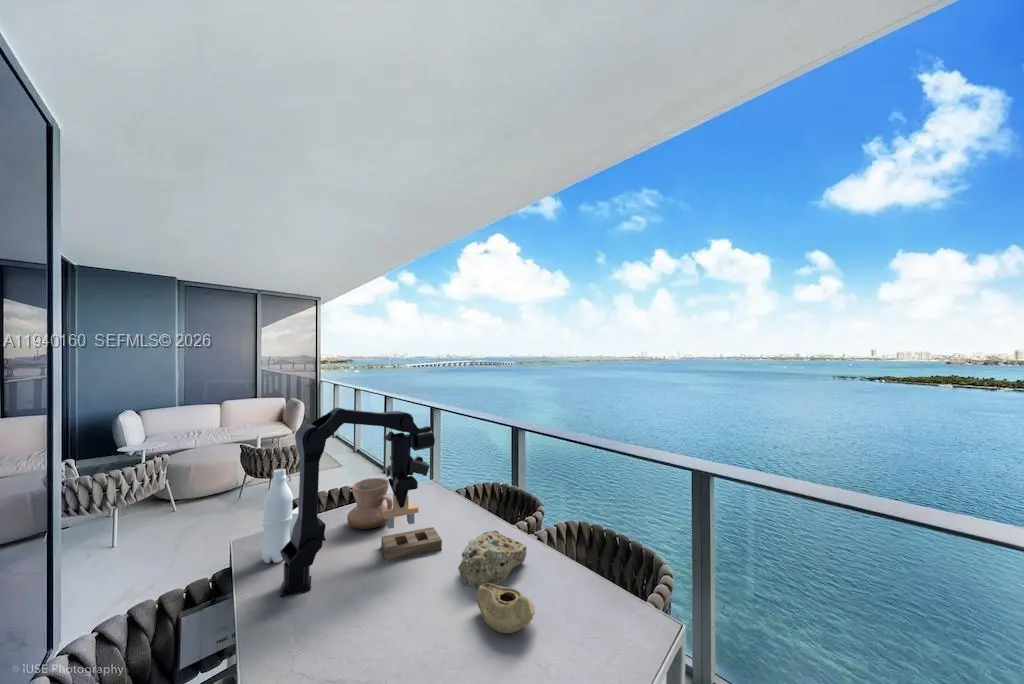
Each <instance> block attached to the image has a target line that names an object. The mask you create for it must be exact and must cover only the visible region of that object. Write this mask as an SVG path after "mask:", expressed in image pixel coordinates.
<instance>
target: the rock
mask: <svg viewBox="0 0 1024 684" xmlns="http://www.w3.org/2000/svg"><path fill="white" fill-rule="evenodd" d="M527 552H528V551H527V545H525V544H522V543H521V542H520V541H517V540H514V539H512V538H511V537H508V536H506V535H504V534H501V533H500V532H499V531H498V530H488V531H486V532H483V533H481V534H479V535H478V536H477V537H476V538H475V539H474V538H472V539H470V540H469V541H468V545H467V546H465V547H464V550H463V551H462V553H461V557H462V559H461V562H460V564H459V565H458V567H457V569H458V572H459V574H460V577H461V578H462V582H463V584H464V586H465V587H473V588H475V589H476V588H477V589H479V587H480V586H481V585H483V584H488V583H491V584H495V585H499V584H500V583H501V582H503V581H505V579H506V578H507V577H508V576H509V575H510V572H511V571H512V570H513V569H516V567H518V566H519V565H521V564H522V563H524V562H525V560H526V557H527Z"/></svg>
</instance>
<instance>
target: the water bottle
mask: <svg viewBox="0 0 1024 684" xmlns="http://www.w3.org/2000/svg"><path fill="white" fill-rule="evenodd" d="M286 472H287V471H286V468H276V469H274V470H273V476H272V478H271V479H272V484H271V485H270V487H269V489H268V491H267V493H266V494H265V497H264V499H263V519H262V527H263V531H264V532H263V535H264V537H263V544H262V546H261V558H262V560H263V562H264V563H265V564H270V563H271V562H273V563H274V564H278V563H281V562H282V561H283V560H284V559H283V558H282V555H281V553H280V551H281V550H282V549H283V548H284V547H285V546H286V544H287V543H288V542H289V541H290V525H291V521H292V510H293V498H294V497H293V492H292V490H291V488H290V486H289V484H288V483H287V480H286V479H287V474H286Z"/></svg>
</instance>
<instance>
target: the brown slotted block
mask: <svg viewBox="0 0 1024 684" xmlns="http://www.w3.org/2000/svg"><path fill="white" fill-rule="evenodd" d="M442 542H443V540H442V538H441V536H440V535H439V534H438V532H437V530H436V529H435V527H434V526H430V527H426V528H425V527H424V528H420V529H415V530H408V531H406V532H405V531H403V532H398V533H393V534H388V535H382V536H381V544H380V545H381V550H382V553H383V556H384V559H385V562H386V563H388V562H393V561H397V560H402V559H407V558H411V557H416V556H421V555H424V554H425V555H426V554H430V553H435V552H440V551H442V550H443V549H442V547H443V543H442Z"/></svg>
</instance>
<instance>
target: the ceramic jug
mask: <svg viewBox="0 0 1024 684" xmlns="http://www.w3.org/2000/svg"><path fill="white" fill-rule="evenodd" d="M389 485H390V483H389V481H388V478H387V479H386V478H384V477H383V478H382V477H370V478H362V479H360V480H356V481H355V482H353V483H352V484H351V492H352V494H353V497H354V501H355V503H356V505H355V507H354V508H352V509H351V510H350V511H349V512H348V514H347V517H346V520H347V523H348V525H350V526H351V527H353V528H355V529H360V530H369V529H374V528H378V527H380V526H383V525H386V524H387V519H384V518H383V510H387V509H393V498H392V497H391V496H390V495H388V494H387V493H388V490H389ZM384 500H385V502H386V503H387V504H385V503H384Z"/></svg>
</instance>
